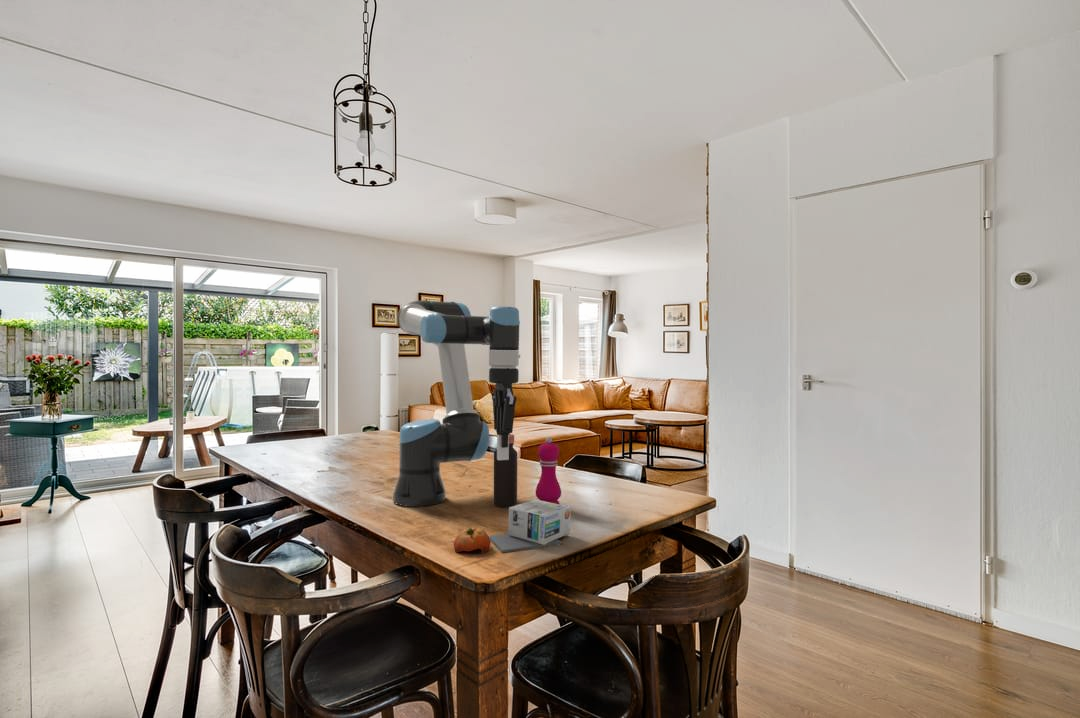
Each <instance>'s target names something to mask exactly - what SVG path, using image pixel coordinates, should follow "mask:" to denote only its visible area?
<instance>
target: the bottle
mask: <svg viewBox="0 0 1080 718" xmlns="http://www.w3.org/2000/svg"><path fill="white" fill-rule="evenodd" d="M514 444H515V435H514V434H513V433H510V434H509V460H497V448H496V449H495V450H494V452H493V506H495V507H498V508H509V507H512V506H516V505H518V451H517V450H516V449H515V447H514Z"/></svg>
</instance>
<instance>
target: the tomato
mask: <svg viewBox="0 0 1080 718" xmlns="http://www.w3.org/2000/svg"><path fill="white" fill-rule="evenodd" d="M489 536H490V535H489V534H488V533H487V532H486V531H485V530H484V529H482V528H478V527H468V528H465V529H463V530H461V531H460V532H459V533H458V534H457V535H456V537H455V539H454V541H453V548H454V549H453V550H454V552H455V553H460V552H463V551H465V552H468V553H469V552H473V551H474V550H478V549H479V550H481V553H480V555H482V554H485V553H486V552H490V548H491V541H490V539H489Z"/></svg>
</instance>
